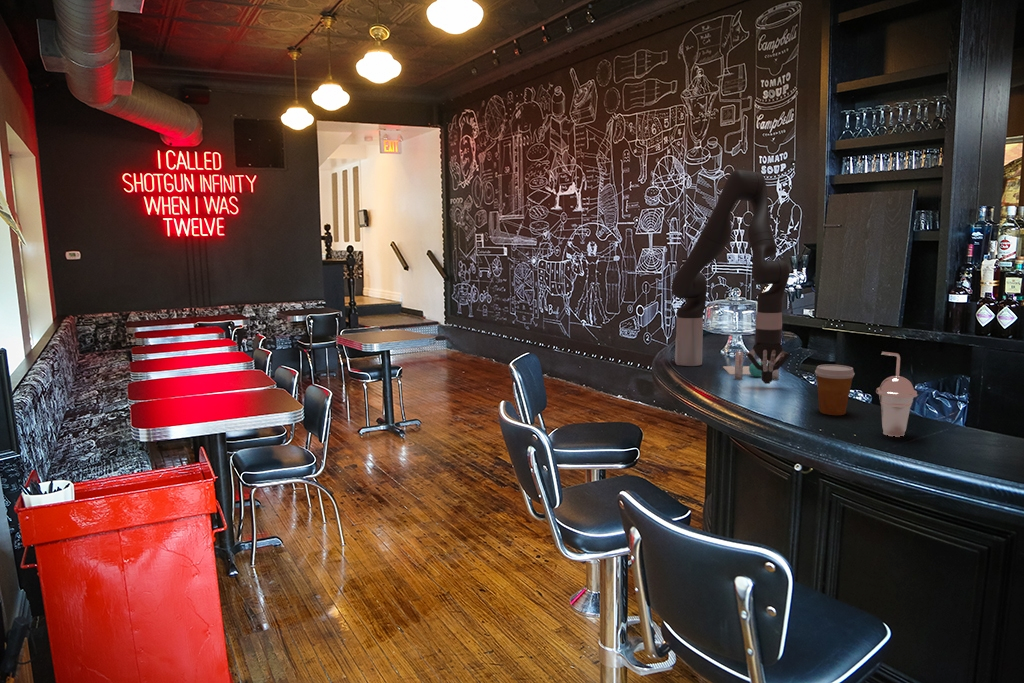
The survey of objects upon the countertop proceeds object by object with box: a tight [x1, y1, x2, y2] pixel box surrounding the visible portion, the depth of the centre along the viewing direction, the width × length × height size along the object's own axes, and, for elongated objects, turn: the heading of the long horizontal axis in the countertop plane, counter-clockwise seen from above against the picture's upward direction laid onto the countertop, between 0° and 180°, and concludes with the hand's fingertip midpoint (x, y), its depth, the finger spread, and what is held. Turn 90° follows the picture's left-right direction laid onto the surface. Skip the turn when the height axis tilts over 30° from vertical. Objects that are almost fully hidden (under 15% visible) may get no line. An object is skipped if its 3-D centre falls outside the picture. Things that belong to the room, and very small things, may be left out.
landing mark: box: [722, 365, 752, 376], centre depth 241 cm, size 14×14×1 cm
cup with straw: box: [875, 350, 918, 438], centre depth 163 cm, size 8×9×20 cm
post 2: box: [772, 353, 781, 381], centre depth 226 cm, size 2×2×9 cm
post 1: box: [734, 350, 744, 381], centre depth 228 cm, size 2×2×9 cm
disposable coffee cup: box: [814, 364, 856, 416], centre depth 184 cm, size 10×10×12 cm
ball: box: [749, 361, 762, 378], centre depth 231 cm, size 5×5×5 cm
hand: (766, 383), depth 215 cm, fingers closed
